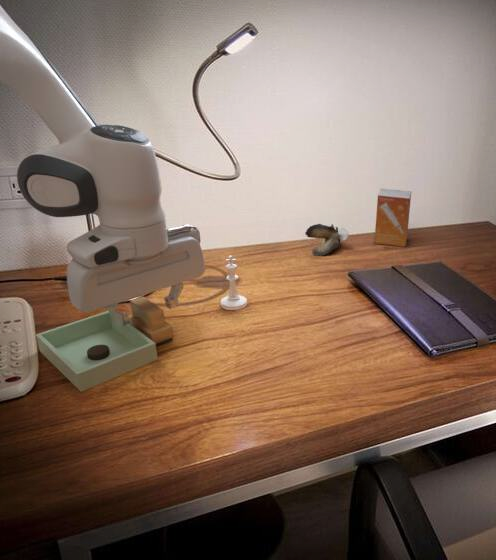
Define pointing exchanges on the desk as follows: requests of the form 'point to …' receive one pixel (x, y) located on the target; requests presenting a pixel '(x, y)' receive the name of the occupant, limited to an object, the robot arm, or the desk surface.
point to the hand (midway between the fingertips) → (148, 315)
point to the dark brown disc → (98, 352)
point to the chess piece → (233, 289)
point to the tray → (87, 333)
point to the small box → (392, 217)
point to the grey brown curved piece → (326, 237)
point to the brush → (150, 321)
